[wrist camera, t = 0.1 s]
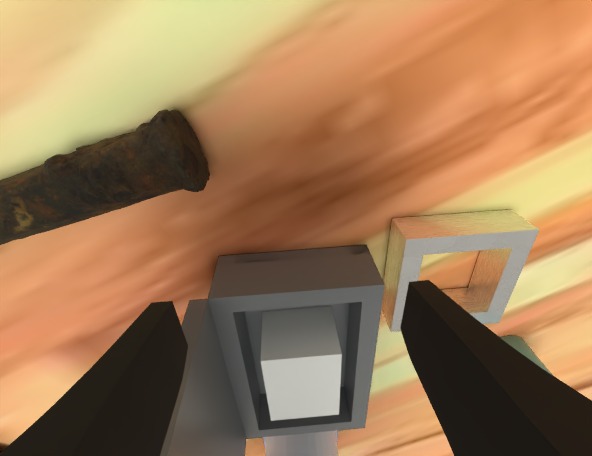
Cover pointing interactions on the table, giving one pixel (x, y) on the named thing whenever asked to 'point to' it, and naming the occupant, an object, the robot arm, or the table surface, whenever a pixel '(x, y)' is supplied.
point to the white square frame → (458, 238)
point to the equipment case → (277, 349)
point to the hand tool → (103, 177)
